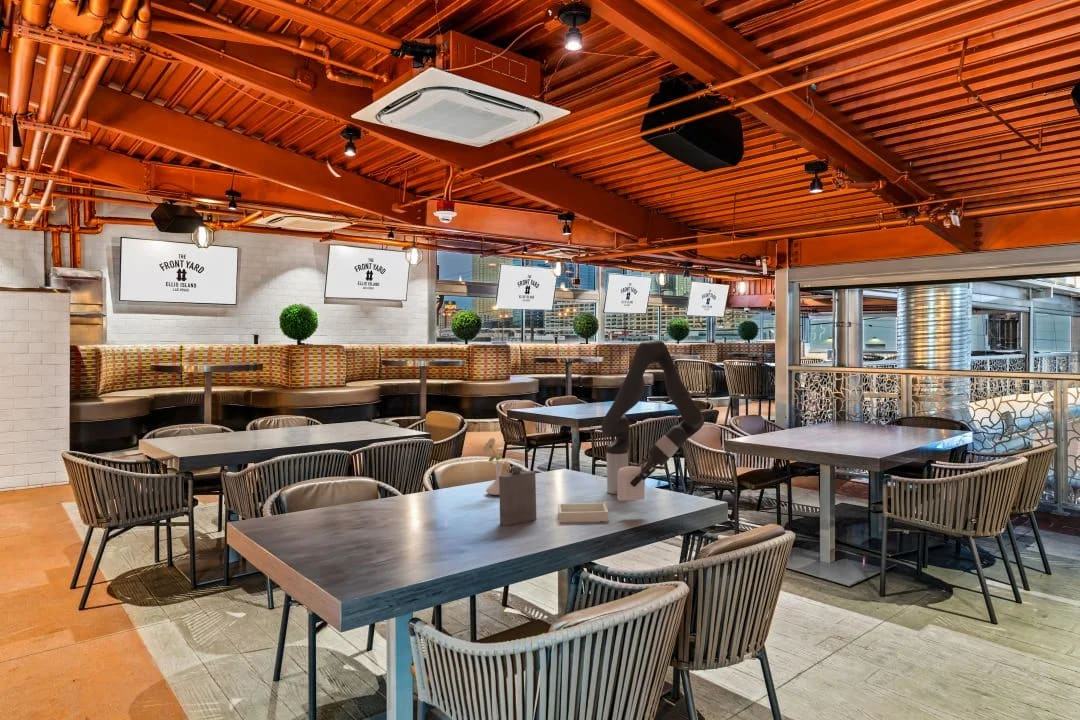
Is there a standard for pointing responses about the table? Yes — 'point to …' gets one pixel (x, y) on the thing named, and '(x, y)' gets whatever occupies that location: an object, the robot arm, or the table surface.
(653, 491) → the table surface
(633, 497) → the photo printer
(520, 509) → the flask
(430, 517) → the table surface
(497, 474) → the flower in vase
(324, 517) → the table surface
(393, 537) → the table surface
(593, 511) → the trough
